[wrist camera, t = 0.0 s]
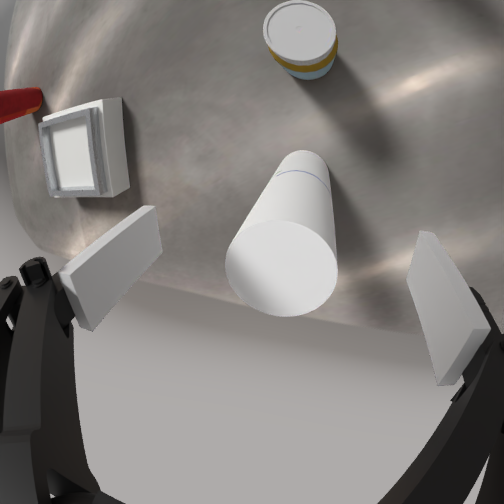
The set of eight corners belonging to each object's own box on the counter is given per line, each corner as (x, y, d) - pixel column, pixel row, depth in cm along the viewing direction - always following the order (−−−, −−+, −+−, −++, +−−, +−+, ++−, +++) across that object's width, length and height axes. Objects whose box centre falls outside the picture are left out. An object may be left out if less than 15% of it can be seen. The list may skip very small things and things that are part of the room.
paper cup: (34, 76, 38) (-17, 85, 26) (49, 92, 40) (-5, 103, 28) (23, 106, 42) (-26, 119, 30) (37, 123, 43) (-14, 139, 32)
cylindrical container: (335, 191, 39) (348, 305, 18) (288, 204, 42) (250, 323, 21) (319, 143, 37) (318, 205, 15) (270, 159, 39) (206, 238, 18)
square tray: (61, 113, 41) (34, 119, 36) (121, 97, 38) (93, 100, 32) (71, 188, 49) (47, 201, 43) (130, 187, 46) (105, 201, 40)
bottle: (297, 88, 33) (284, 79, 21) (270, 47, 31) (242, 18, 18) (342, 67, 31) (357, 46, 18) (315, 26, 28) (312, -15, 16)
